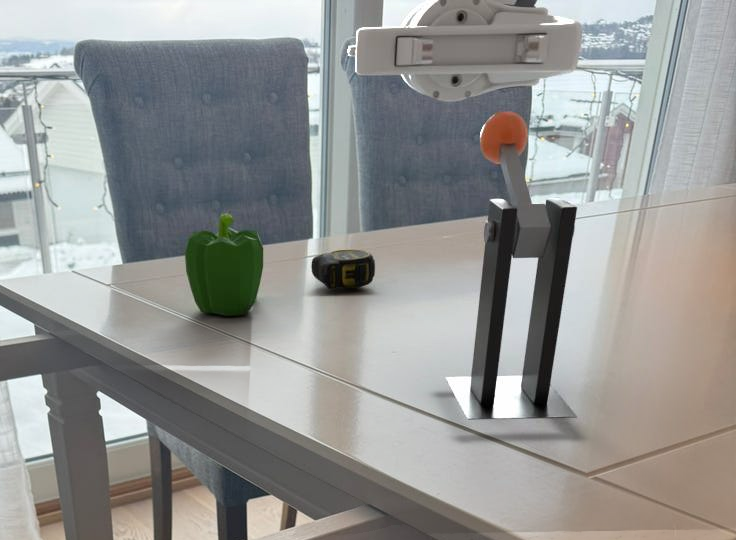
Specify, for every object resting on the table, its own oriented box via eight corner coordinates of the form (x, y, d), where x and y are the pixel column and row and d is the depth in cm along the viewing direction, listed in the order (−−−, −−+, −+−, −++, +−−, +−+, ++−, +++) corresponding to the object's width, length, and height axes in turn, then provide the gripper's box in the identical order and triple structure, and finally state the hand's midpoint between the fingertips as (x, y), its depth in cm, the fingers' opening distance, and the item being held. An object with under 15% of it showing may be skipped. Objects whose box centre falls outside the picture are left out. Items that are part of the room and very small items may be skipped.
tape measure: (309, 283, 111) (310, 250, 109) (365, 279, 112) (366, 246, 110) (323, 296, 106) (323, 261, 104) (381, 292, 107) (382, 257, 105)
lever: (473, 148, 74) (481, 102, 71) (518, 147, 74) (528, 101, 71) (500, 266, 66) (511, 219, 63) (551, 265, 66) (564, 218, 63)
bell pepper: (194, 302, 104) (189, 205, 99) (267, 303, 103) (266, 204, 98) (181, 321, 97) (174, 218, 92) (259, 322, 96) (257, 217, 91)
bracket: (443, 391, 77) (461, 194, 69) (541, 389, 76) (570, 191, 68) (465, 434, 68) (489, 215, 60) (575, 433, 68) (613, 212, 60)
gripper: (347, 11, 89) (359, 8, 77) (561, 7, 89) (606, 3, 77) (344, 88, 92) (356, 95, 81) (551, 84, 92) (592, 91, 81)
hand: (480, 50), depth 79 cm, fingers open, 8 cm apart
